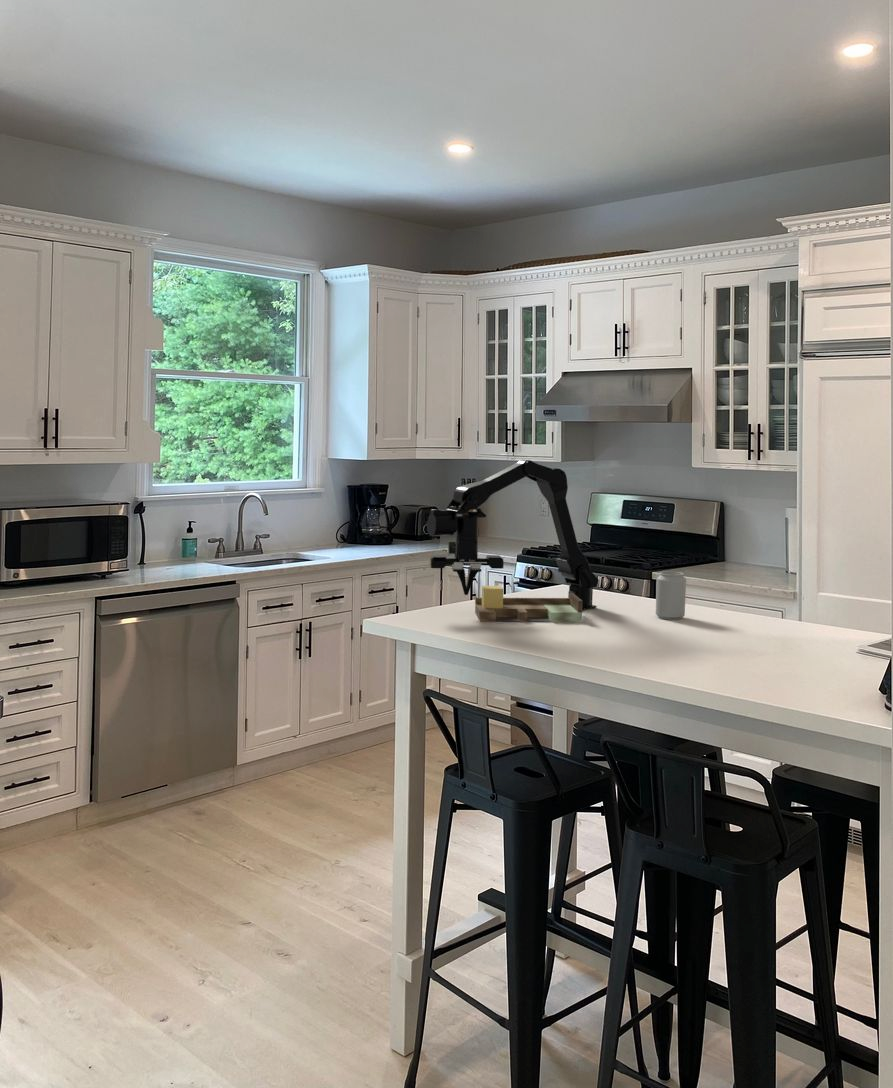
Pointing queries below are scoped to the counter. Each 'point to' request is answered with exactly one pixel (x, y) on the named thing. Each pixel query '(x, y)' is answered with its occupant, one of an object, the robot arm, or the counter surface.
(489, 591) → the block
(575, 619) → the deck
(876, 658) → the counter surface
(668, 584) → the can
